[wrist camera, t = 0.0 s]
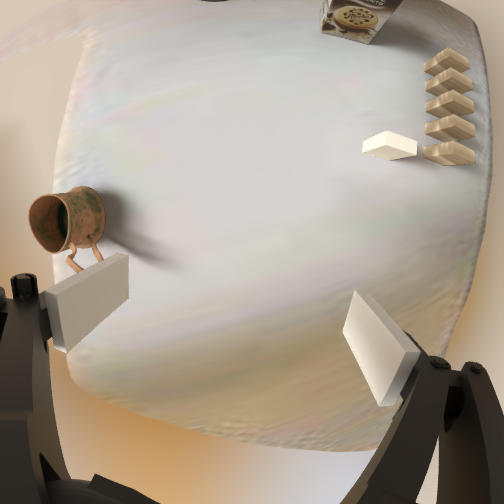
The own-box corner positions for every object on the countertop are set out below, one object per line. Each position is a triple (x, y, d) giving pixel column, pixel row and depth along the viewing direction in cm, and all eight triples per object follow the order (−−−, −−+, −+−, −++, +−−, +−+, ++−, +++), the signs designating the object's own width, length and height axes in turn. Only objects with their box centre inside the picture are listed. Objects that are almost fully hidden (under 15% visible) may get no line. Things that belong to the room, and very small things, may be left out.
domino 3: (425, 82, 34) (450, 67, 26) (445, 91, 34) (471, 80, 26) (425, 90, 35) (451, 76, 26) (445, 100, 35) (472, 89, 26)
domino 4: (425, 102, 35) (452, 89, 27) (445, 111, 35) (473, 101, 27) (425, 111, 36) (453, 100, 27) (445, 121, 36) (474, 112, 27)
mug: (110, 281, 45) (73, 305, 34) (53, 223, 43) (12, 233, 32) (139, 232, 43) (102, 247, 31) (77, 174, 41) (33, 174, 29)
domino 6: (424, 146, 37) (454, 140, 29) (444, 155, 37) (475, 151, 29) (423, 157, 38) (453, 153, 29) (443, 165, 38) (474, 163, 29)
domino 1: (363, 141, 38) (386, 130, 29) (390, 149, 38) (417, 141, 29) (362, 152, 39) (385, 144, 30) (389, 160, 39) (416, 155, 30)
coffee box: (319, 33, 34) (339, -22, 18) (320, 10, 32) (337, -44, 17) (368, 46, 34) (405, 0, 18) (367, 22, 32) (398, -25, 17)
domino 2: (423, 63, 33) (447, 47, 25) (443, 73, 33) (468, 59, 25) (424, 71, 34) (449, 55, 25) (444, 81, 34) (470, 68, 25)
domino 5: (425, 123, 36) (454, 114, 28) (445, 132, 36) (475, 125, 28) (425, 133, 37) (454, 125, 28) (445, 142, 37) (475, 137, 28)
